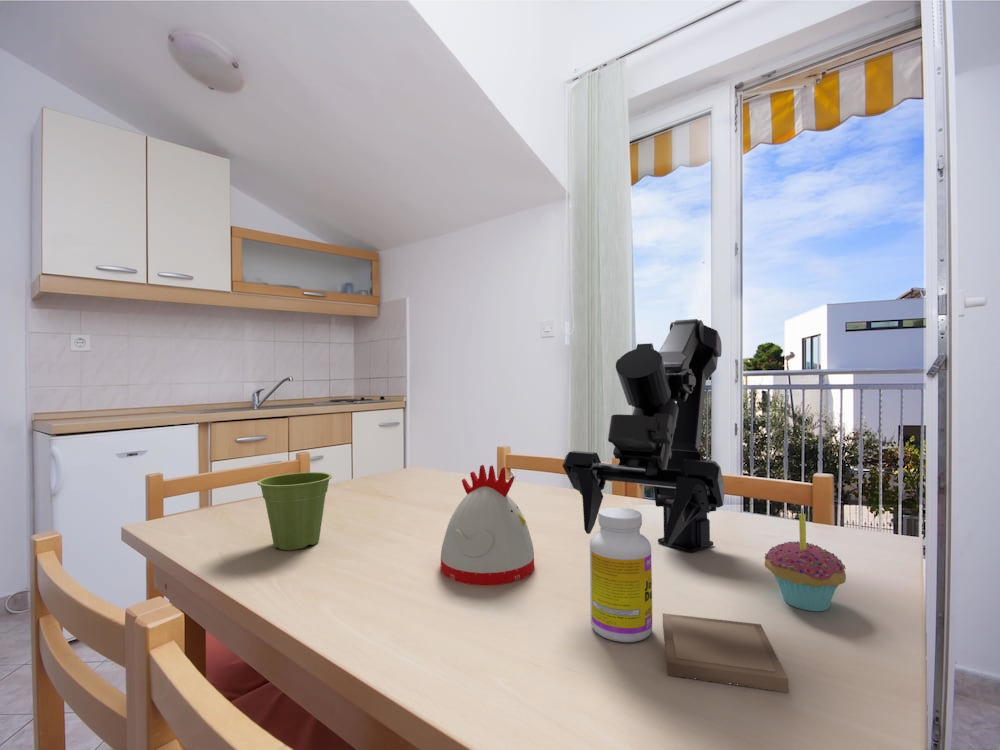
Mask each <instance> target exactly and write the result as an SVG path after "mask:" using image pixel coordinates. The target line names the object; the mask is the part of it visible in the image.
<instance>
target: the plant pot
mask: <svg viewBox="0 0 1000 750" xmlns="http://www.w3.org/2000/svg"><path fill="white" fill-rule="evenodd" d="M332 478H333V475H332V474H331V473H328V472H317V471H316V472H315V471H314V472H308V471H307V472H293V473H286V474H280V475H273V476H269V477H264V478H262V479H259V480H257V483H256V484H257V485H258V486H259V487H260V488H261V492H262V493H261V495H262V498H263V499H264V501H265V506H266V507H265V508H266V513H267V516H268V521H269V527H270V533H271V538H272V542H273V547H274V548H278V549H280V550H281V551H282V550H283V551H290V550H302V549H304V548H306V547H307V546H309V545H311V546H313V545H314V546H315V545H316V544H318V542H319V541H320V537H321V528H322V522H323V517H324V509H325V501H326V496H327V495H326V494H327V492H328V488H329V484H330V483H329V482H330V480H331V479H332Z"/></svg>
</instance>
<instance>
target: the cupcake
mask: <svg viewBox="0 0 1000 750" xmlns="http://www.w3.org/2000/svg"><path fill="white" fill-rule="evenodd" d="M800 510H801V511H800V513H799V514H798V521H799V522H798V523H799V525H798V527H799V541H797V540H796V541H787V542H784V543H780V544H777V545H775V546H772V547H771V548H770V549H769V551H767V553H764V554H765V556H764V566H765V568H766V569H768V570H769V571H770V572H771V574H772V575H773V576H774V577H775V579H776V581H777V584H778V587H779V589H780V592H781V595H782V598H783V601H784V602H785V603H787V604H788V605H790V606H791V607H794V608H797V609H800V610H803V611H808V612H824V611H827V610H829V608H830V605H831V603H832V600H833V597H834V595H835V592H836V590H837V589H838V587H839V586H840V585H841V584H844V583H846V580H847V575H846V569H847V568H846V565H845V564H843V562H842V560H841V559H839V558H838V556H837V555H835V553H832V552H830V551H828V550H827V549H824V548H822V547H820V546H818V544H816V545H815V544H814V543H809V542H807V528H806V527H807V526H806V525H807V524H806V523H807V522H806V521H807V520H806V519H807V518H806V514H805V513H804V508H803V507H801V508H800Z"/></svg>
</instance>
